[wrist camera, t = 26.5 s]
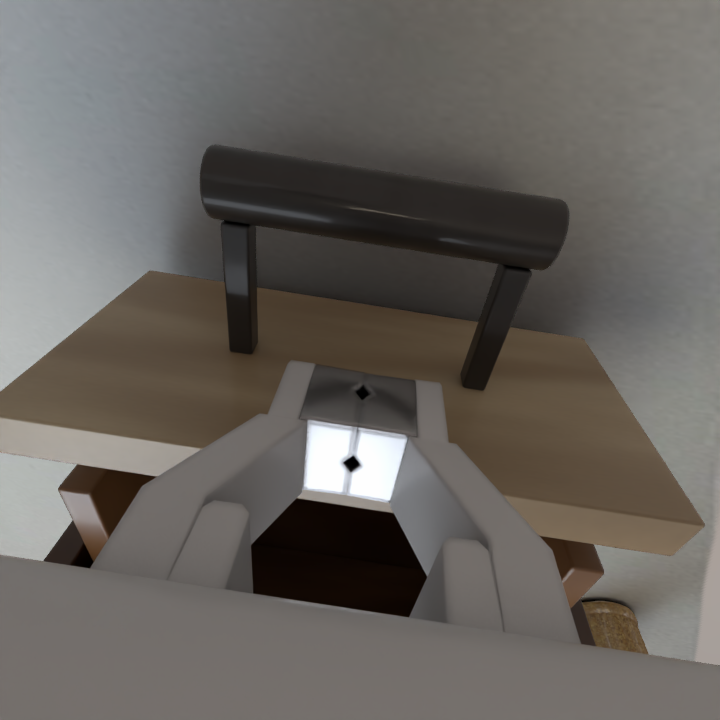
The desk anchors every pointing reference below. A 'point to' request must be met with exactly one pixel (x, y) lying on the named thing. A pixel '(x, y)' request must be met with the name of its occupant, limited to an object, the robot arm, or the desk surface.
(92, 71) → the desk surface
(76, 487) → the drawer
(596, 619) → the sprinkles bottle
